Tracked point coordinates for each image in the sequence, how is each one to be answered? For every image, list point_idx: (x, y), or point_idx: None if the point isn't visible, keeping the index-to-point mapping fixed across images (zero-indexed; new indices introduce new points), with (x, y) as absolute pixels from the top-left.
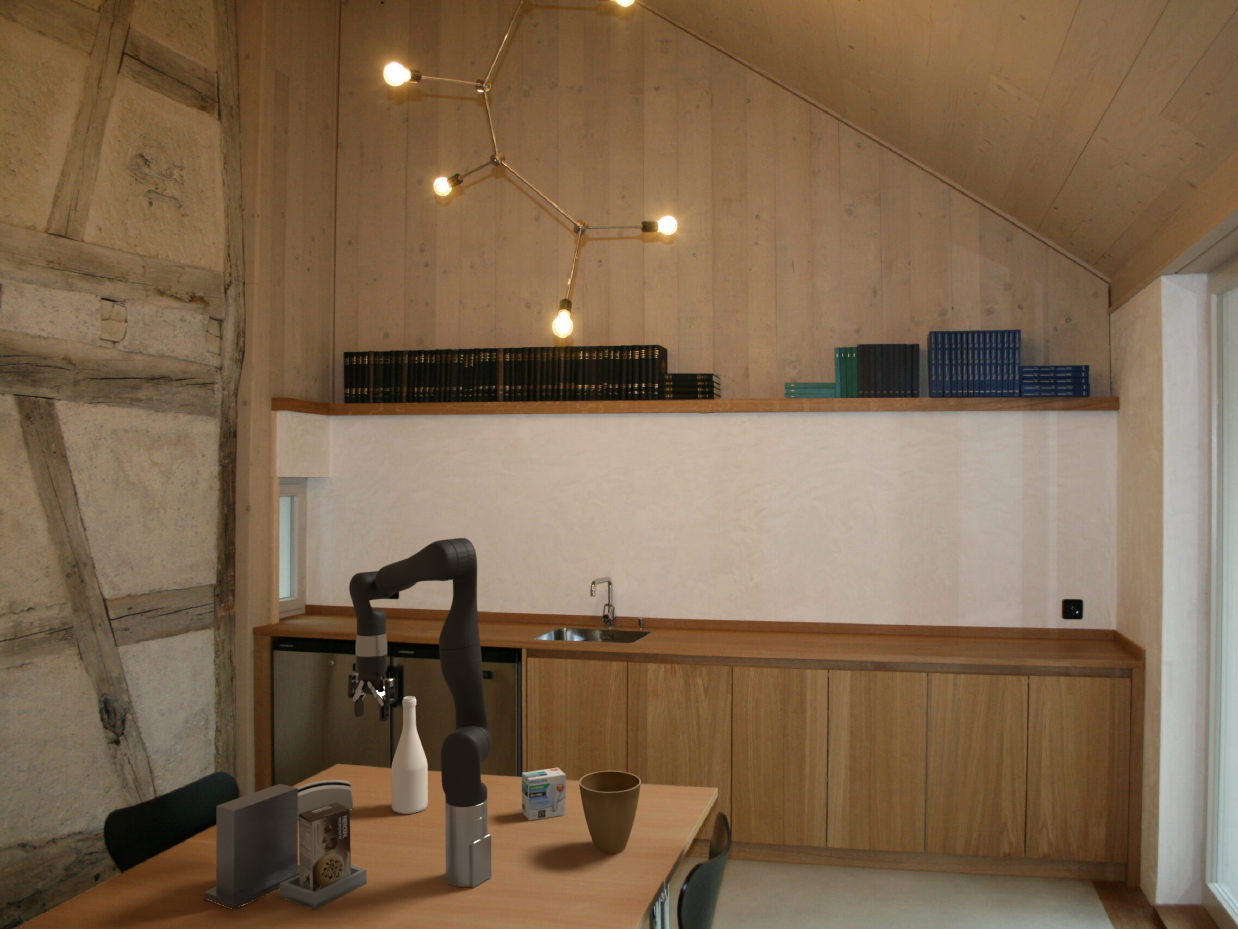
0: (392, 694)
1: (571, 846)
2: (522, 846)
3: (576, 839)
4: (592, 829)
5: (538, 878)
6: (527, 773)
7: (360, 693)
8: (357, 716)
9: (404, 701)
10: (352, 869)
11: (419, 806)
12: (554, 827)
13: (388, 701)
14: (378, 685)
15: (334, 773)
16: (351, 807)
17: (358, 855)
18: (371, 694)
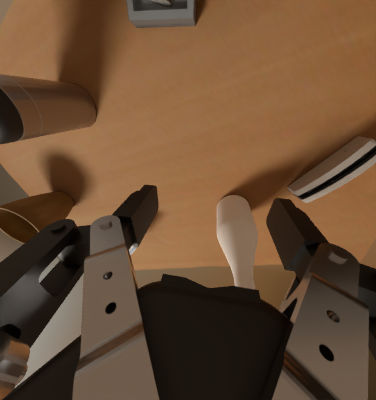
0: (52, 284)
1: (80, 192)
2: (102, 180)
3: (88, 202)
4: (46, 196)
5: (46, 137)
6: (131, 247)
7: (298, 292)
8: (276, 198)
9: None
10: (147, 11)
11: (217, 205)
12: (113, 212)
13: (43, 229)
14: (40, 371)
15: (361, 248)
16: (289, 186)
17: (203, 92)
18: (177, 278)
